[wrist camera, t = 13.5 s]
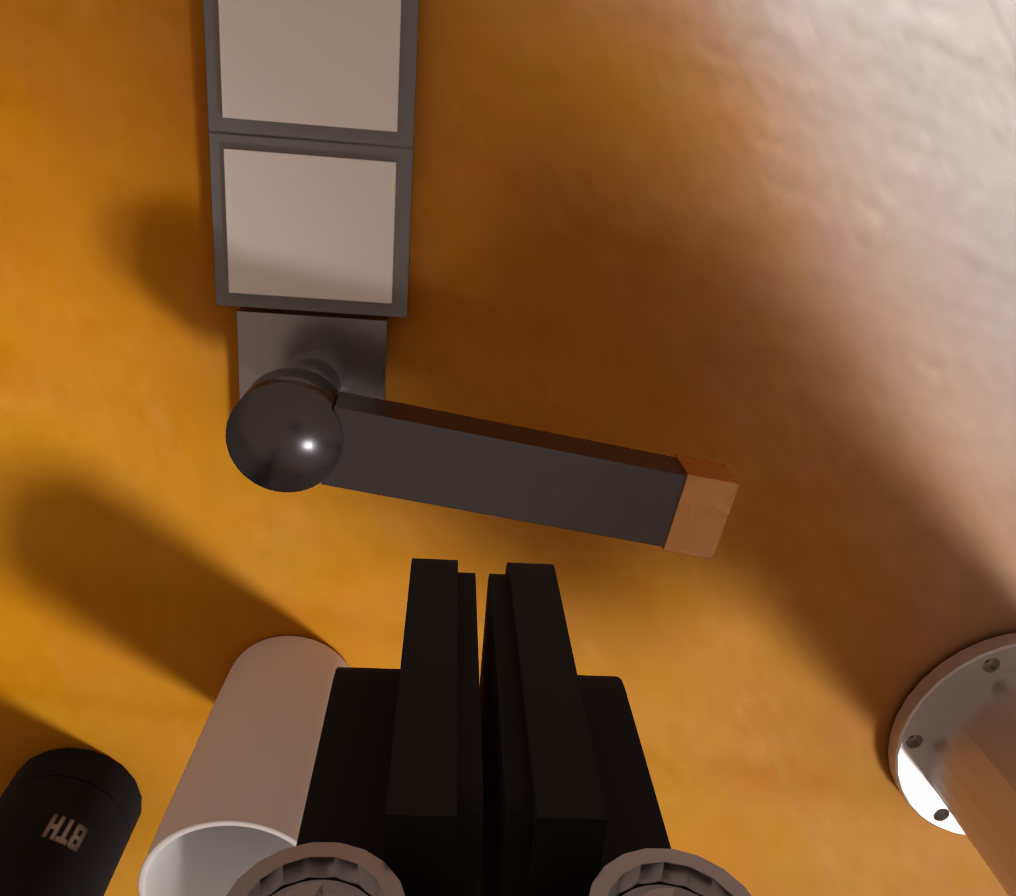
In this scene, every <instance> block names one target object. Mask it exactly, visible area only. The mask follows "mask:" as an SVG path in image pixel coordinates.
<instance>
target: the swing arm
mask: <svg viewBox="0 0 1016 896" xmlns="http://www.w3.org/2000/svg"><path fill="white" fill-rule="evenodd" d="M226 444H227V448H228V451H229V454H230V457H231V458H232V460H233V462H234V464H235V465H236V467H237V468H238V469H239V470H240V471H241V472H242V474H243V475H245V476H246V477H247V478H248V479H249V480H251V481H252V482H254V483H255V484H257V485H259V486H261V487H264V488H266V489H269V490H273V491H278V492H297V491H302V490H306V489H309V488H311V487H313V486H315V485H317V484H319V483H320V482H322V483H321V484H323V485H329V486H334V487H340V488H345V489H351V490H356V491H361V492H367V493H372V494H378V495H383V496H389V497H394V498H400V499H405V500H411V501H416V502H422V503H427V504H432V505H438V506H443V507H449V508H454V509H460V510H465V511H471V512H476V513H482V514H487V515H493V516H498V517H503V518H509V519H514V520H520V521H525V522H531V523H536V524H542V525H547V526H553V527H558V528H564V529H569V530H575V531H580V532H585V533H591V534H596V535H602V536H607V537H613V538H618V539H624V540H629V541H635V542H640V543H646V544H651V545H656V546H662V548H663V550H664V551H670V552H675V553H681V554H686V555H692V556H697V557H703V558H708V559H713V558H714V555H715V553H716V550H717V547H718V544H719V541H720V538H721V536H722V533H723V530H724V527H725V524H726V521H727V518H728V516H729V513H730V510H731V507H732V504H733V501H734V498H735V496H736V493H737V490H738V487H739V483H738V482H737V480H736V479H735V478H734V476H733V475H732V474H731V472H730V471H729V470H728V469H727V467H726V466H725V465H724V464H722V463H717V462H712V461H707V460H702V459H697V458H692V457H687V456H682V455H677V454H675V457H670V456H665V455H660V454H655V453H650V452H645V451H640V450H635V449H630V448H625V447H620V446H615V445H610V444H605V443H600V442H594V441H589V440H584V439H579V438H574V437H569V436H564V435H559V434H554V433H549V432H544V431H539V430H534V429H529V428H524V427H519V426H513V425H508V424H503V423H498V422H493V421H488V420H483V419H478V418H473V417H468V416H463V415H458V414H453V413H448V412H443V411H438V410H433V409H427V408H422V407H417V406H412V405H407V404H402V403H397V402H392V401H387V400H382V399H377V398H372V397H367V396H362V395H357V394H352V393H347V392H340V393H339V391H338V390H337V389H336V388H335V386H334V385H332V384H331V383H330V382H329V381H328V380H327V379H325V378H324V377H322V376H320V375H318V374H317V373H314V372H312V371H309V370H305V369H300V368H282V369H277V370H273V371H271V372H268V373H266V374H265V375H263V376H261V377H260V378H258V379H257V380H256V381H255V382H254V383H253V384H252V385H251V386H250V388H249V389H248V390H247V392H246V393H245V394H244V396H243V397H242V398H241V399H240V401H239V402H238V403H237V405H236V406H235V408H234V409H233V410H232V412H231V414H230V416H229V419H228V422H227V427H226Z"/></svg>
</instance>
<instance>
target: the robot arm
mask: <svg viewBox="0 0 1016 896" xmlns="http://www.w3.org/2000/svg"><path fill="white" fill-rule="evenodd" d="M888 758H889V767H890V771H891V774H892V776H893V779H894V782H895V784H896V786H897V788H898V789H899V791H900V792H901V794H902V795H903V797H904V798H905V800H906V802H907V803H908V804H909V805H910V806H911V807H912V809H913V810H914V811H915V812H916V813H917V814H918V815H919V816H920V817H922V818H923V819H925V820H926V821H928V822H929V823H931V824H932V825H934V826H937V827H939V828H942V829H945V830H947V831H950V832H953V833H959V834H964V835H966V836H967V837H968V838H969V840H970V841H971V843H972V844H973V846H974V847H975V848H976V850H977V851H978V853H979V854H980V855H981V857H982V858H983V860H984V861H985V863H986V864H987V865H988V867H989V868H990V870H991V871H992V873H993V874H994V875H995V877H996V878H997V880H998V881H999V883H1000V884H1001V885H1002V887H1003V888H1004V890H1005V891H1006V892H1007V894H1008V895H1009V896H1016V633H1010V634H1005V635H1001V636H998V637H994V638H991V639H987V640H984V641H981V642H979V643H977V644H975V645H972V646H970V647H968V648H966V649H963V650H961V651H960V652H958V653H956V654H955V655H953V656H952V657H950V658H949V659H947V660H945V661H944V662H942V663H941V664H939V665H938V666H937V667H936V668H935V669H934V670H932V671H931V672H930V673H929V674H928V675H927V676H926V677H924V678H923V679H922V680H921V681H920V683H919V684H918V685H917V686H916V687H915V688H914V690H913V691H912V692H911V693H910V694H909V696H908V697H907V698H906V700H905V702H904V704H903V705H902V707H901V709H900V710H899V712H898V714H897V716H896V719H895V721H894V724H893V727H892V730H891V733H890V739H889V747H888ZM226 896H751V895H750V893H749V892H748V891H747V889H746V888H745V887H744V886H743V885H742V884H741V883H739V882H738V881H737V880H736V879H735V878H733V877H732V876H731V875H730V874H729V873H727V872H726V871H725V870H724V869H722V868H721V867H719V866H717V865H715V864H713V863H711V862H709V861H707V860H705V859H703V858H701V857H699V856H697V855H693V854H689V853H686V852H682V851H678V850H675V849H671V847H670V843H669V840H668V836H667V833H666V829H665V826H664V822H663V819H662V816H661V812H660V809H659V805H658V802H657V798H656V795H655V791H654V788H653V784H652V781H651V777H650V774H649V770H648V767H647V764H646V760H645V757H644V753H643V750H642V746H641V743H640V739H639V736H638V732H637V729H636V725H635V722H634V719H633V715H632V712H631V708H630V705H629V701H628V698H627V694H626V691H625V688H624V685H623V683H622V680H621V679H620V678H619V677H614V676H585V675H577V672H576V667H575V662H574V657H573V653H572V648H571V643H570V638H569V634H568V629H567V624H566V620H565V615H564V610H563V605H562V601H561V596H560V591H559V586H558V582H557V577H556V572H555V568H554V565H552V564H529V563H507V567H506V573H505V574H489V579H488V589H487V601H486V613H485V626H484V638H483V651H482V663H481V675H480V688H479V661H478V633H477V606H476V578H475V573H459V572H458V560H439V559H416V558H412V563H411V573H410V582H409V592H408V602H407V611H406V621H405V630H404V640H403V649H402V659H401V669H379V668H350V667H337V669H336V670H335V674H334V677H333V682H332V686H331V691H330V695H329V700H328V704H327V709H326V713H325V718H324V722H323V727H322V731H321V736H320V740H319V745H318V749H317V754H316V758H315V763H314V767H313V772H312V776H311V781H310V785H309V790H308V794H307V799H306V803H305V808H304V812H303V817H302V822H301V826H300V831H299V835H298V840H297V844H296V846H293V847H289V848H285V849H283V850H281V851H279V852H277V853H275V854H273V855H271V856H268V857H266V858H264V859H262V860H260V861H259V862H257V863H256V864H255V865H254V866H253V867H251V868H250V869H249V870H248V871H247V872H246V873H244V874H243V875H242V876H241V877H240V878H238V879H237V881H236V882H235V883H234V885H233V886H232V888H231V889H230V891H229V892H228V894H227V895H226Z"/></svg>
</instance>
